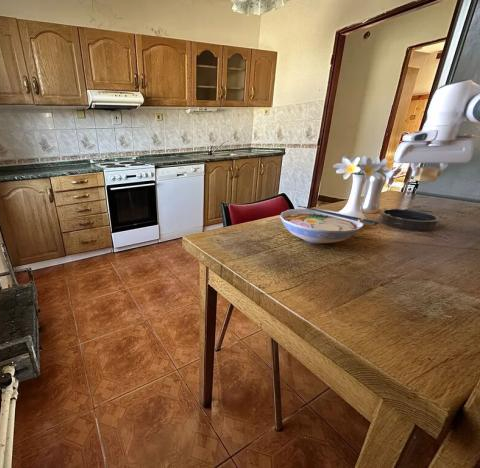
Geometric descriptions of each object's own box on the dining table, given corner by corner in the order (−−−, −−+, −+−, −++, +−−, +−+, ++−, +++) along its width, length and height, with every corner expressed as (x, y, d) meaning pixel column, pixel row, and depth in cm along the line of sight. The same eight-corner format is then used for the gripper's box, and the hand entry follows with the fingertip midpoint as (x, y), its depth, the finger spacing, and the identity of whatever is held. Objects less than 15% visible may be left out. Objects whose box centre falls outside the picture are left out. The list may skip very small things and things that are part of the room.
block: (428, 179, 95) (432, 167, 93) (435, 181, 91) (439, 168, 89) (413, 179, 96) (416, 167, 95) (418, 181, 92) (422, 168, 91)
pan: (422, 220, 97) (425, 210, 96) (445, 234, 84) (450, 223, 83) (372, 217, 103) (375, 207, 102) (387, 229, 90) (390, 219, 88)
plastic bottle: (362, 214, 106) (375, 165, 99) (355, 210, 112) (366, 163, 105) (380, 215, 105) (394, 165, 97) (372, 211, 111) (385, 163, 104)
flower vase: (380, 239, 82) (404, 158, 73) (316, 227, 94) (330, 156, 85) (384, 228, 91) (406, 155, 82) (325, 218, 103) (339, 153, 94)
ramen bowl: (260, 234, 89) (262, 211, 86) (303, 223, 99) (307, 202, 96) (331, 263, 68) (337, 234, 65) (377, 245, 78) (385, 220, 75)
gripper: (472, 133, 87) (457, 175, 92) (397, 136, 94) (387, 174, 99) (485, 133, 82) (469, 177, 86) (405, 136, 89) (394, 176, 94)
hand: (425, 175), depth 93 cm, fingers closed on block, 4 cm apart
